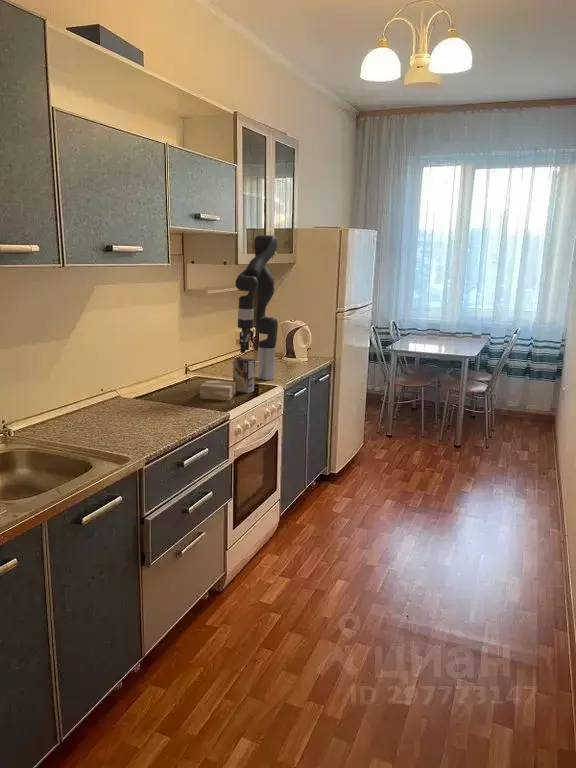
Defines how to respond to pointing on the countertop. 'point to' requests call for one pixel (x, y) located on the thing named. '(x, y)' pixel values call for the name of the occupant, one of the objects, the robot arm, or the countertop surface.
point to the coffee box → (244, 374)
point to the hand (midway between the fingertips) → (244, 351)
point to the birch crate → (218, 390)
